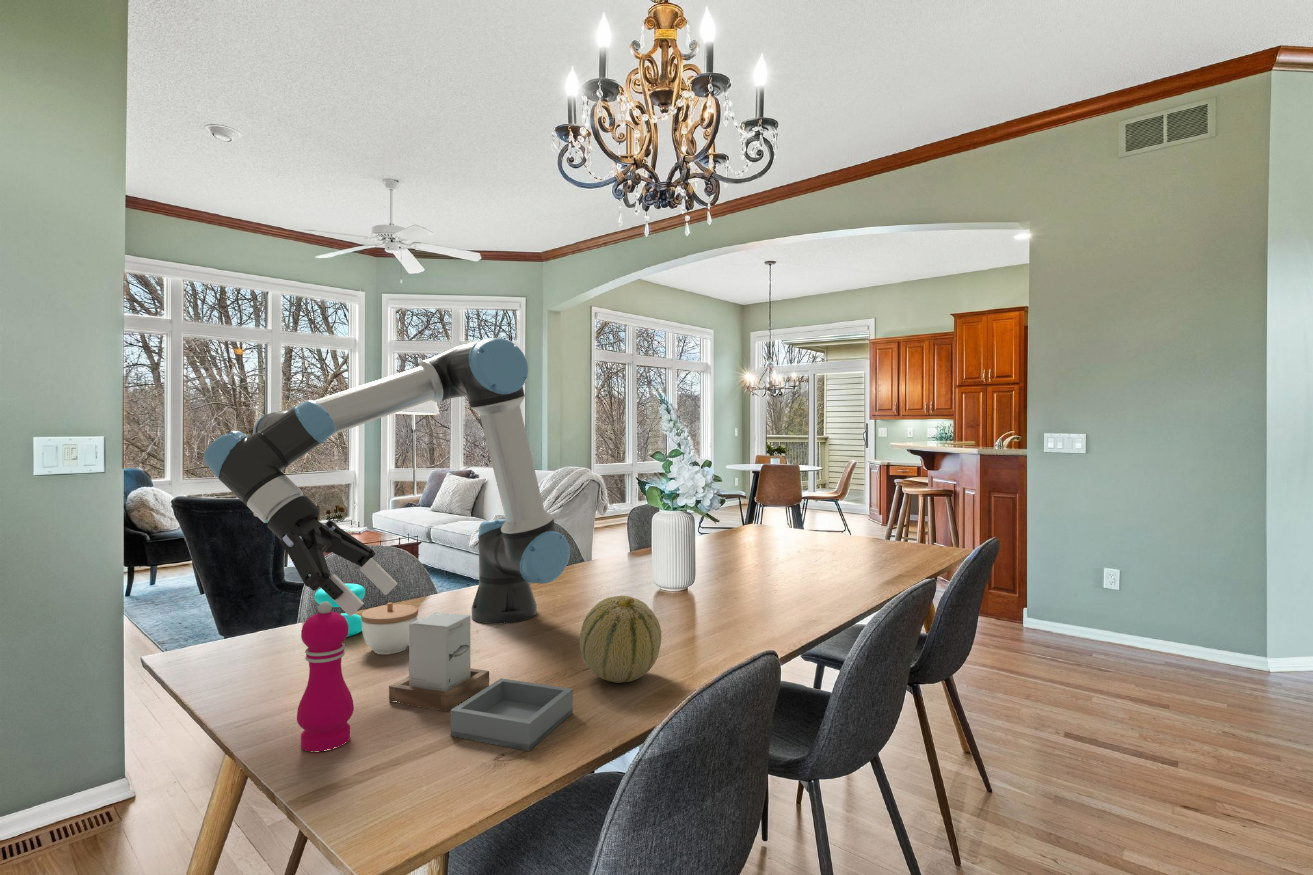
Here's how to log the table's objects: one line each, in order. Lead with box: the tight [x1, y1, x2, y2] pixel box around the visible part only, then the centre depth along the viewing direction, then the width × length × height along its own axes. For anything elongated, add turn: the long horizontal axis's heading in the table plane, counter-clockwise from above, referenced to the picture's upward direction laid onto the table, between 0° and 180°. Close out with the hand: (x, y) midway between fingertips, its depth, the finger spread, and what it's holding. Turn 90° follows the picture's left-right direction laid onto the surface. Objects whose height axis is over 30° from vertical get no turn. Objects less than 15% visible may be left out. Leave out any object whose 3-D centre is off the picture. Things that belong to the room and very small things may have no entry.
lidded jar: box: [360, 602, 419, 655], centre depth 134 cm, size 11×11×9 cm
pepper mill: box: [296, 602, 355, 752], centre depth 94 cm, size 7×7×20 cm
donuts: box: [314, 583, 366, 638], centre depth 144 cm, size 10×10×10 cm
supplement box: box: [408, 612, 472, 692], centre depth 111 cm, size 7×7×13 cm
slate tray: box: [450, 677, 574, 752], centre depth 100 cm, size 13×13×4 cm
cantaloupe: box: [579, 595, 662, 684], centre depth 117 cm, size 15×15×15 cm
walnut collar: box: [388, 667, 490, 713], centre depth 111 cm, size 11×11×2 cm
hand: (375, 599), depth 111 cm, fingers open, 13 cm apart
